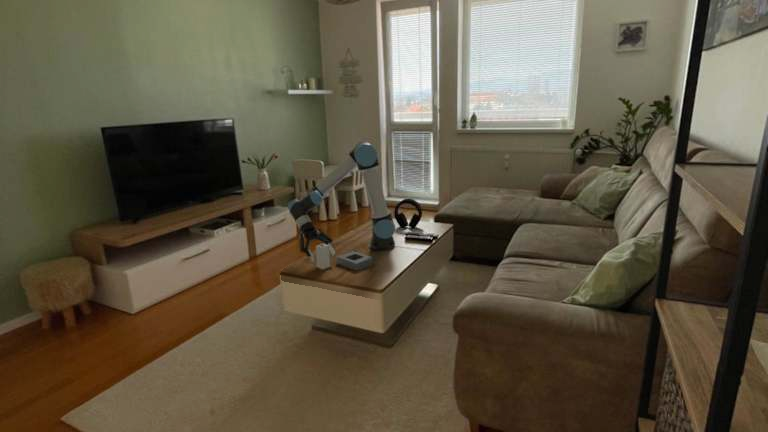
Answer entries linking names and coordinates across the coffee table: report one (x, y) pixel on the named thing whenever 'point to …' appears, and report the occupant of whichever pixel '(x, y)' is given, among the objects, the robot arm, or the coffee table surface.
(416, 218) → the headphones
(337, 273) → the coffee table surface
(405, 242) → the coffee table surface
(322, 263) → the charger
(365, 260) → the block
